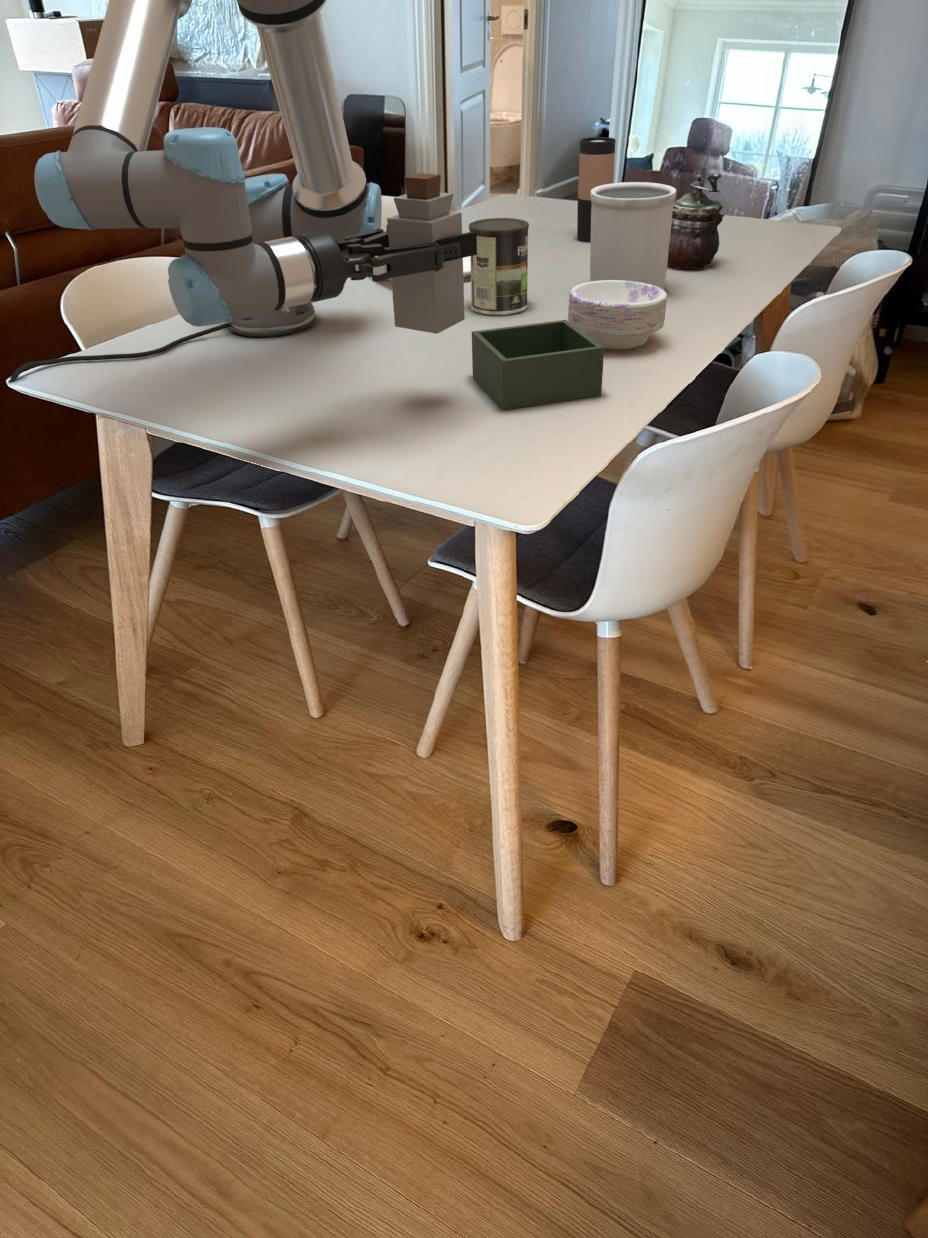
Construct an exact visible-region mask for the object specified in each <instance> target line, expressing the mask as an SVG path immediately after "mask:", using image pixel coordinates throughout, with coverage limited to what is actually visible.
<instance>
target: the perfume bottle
mask: <svg viewBox="0 0 928 1238" xmlns="http://www.w3.org/2000/svg"><path fill="white" fill-rule="evenodd" d="M441 176H442V175H441V174H439V173H437V174H436V173H425V172H418V173H414V174H410V175H407V176H405V177H404V186H405V193H404V194H401V195H399V196H395V197H393V201H394V205H395V208H396V211H397V214H395V215H392V216H390V217H387V218H386V223H387V224H386V225H388V238H389V247H396V246H406V245H415V244H425V243H431V242H435V241H436V240H439V239H441V238H444V237H448V236H453V235H458V234H463V220H462V219H463V218H462V211H453V210H451V208H452V207H451V206H452V201H453V198H454V193H452V192H441V181H442V180H441V179H442V177H441ZM391 279H392V281H391V291H392V292H391V293H392V305H393V306H392V307H393V319H394V320H393V321H394V327H396V328H402V329H408V330H411V331H412V330H413V331H418V332H424V333H430V334H436V335H438V334H440V333H442V332H443V331H445V330H448V329H450V328H452V327H454V326H455V325H457V324H459V323H460V322H463V321H464V320H465V319H466V318H465V288H464V287H465V285H464V282H465V281H464V277H463V258H460V259H455V260H451V261H446V262H443V268H442V269H439V271H437V272H436V271H435V270H432V271H426V272H421V273H415V274H410V275H404V276H399V277H393V278H391Z"/></svg>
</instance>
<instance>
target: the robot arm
mask: <svg viewBox="0 0 928 1238" xmlns="http://www.w3.org/2000/svg"><path fill="white" fill-rule="evenodd" d="M192 2H193V0H108V3H107V7H106V11H105V15H104V19H103V22H102V24H101V29H100V33H99V36H98V40H97V44H96V48H95V52H94V55H93V59H92V61H91V66H90V69H89V73H88V77H87V80H86V85H85V88H84V92H83V94H82V95H83V96H82V99H81V103H80V105H79V110H78V114H77V117H76V121H75V125H74V129H73V133H72V135H71V138H70V142H69V145H68V149H67V151H62V150H57V151H56V152H49V153H45V154H44V155H43V156H42V157H40V158H38V160H37V162H36V164H35V168H34V178H33V179H34V189H35V193H36V196H37V200H38V202H39V205H40V207H41V209H42V210H43V212H45V214H46V216H47V218H48V219H49V220H50V221H51V222H52V223H53V224H55V225H57V226H59V227H61V228H66V229H67V228H68V229H76V230H77V229H79V230H89V231H96V230H114V229H116V230H117V229H180V233H181V237H182V242H183V246H184V253H185V254H182V255H181V256H180V257H176V258H173V259H172V260H171V261H170V262H169V265H168V266H167V267H168V268H167V275H168V280H167V283H168V288H169V291H170V295H171V298H172V302H173V304H174V306H175V308H176V310H177V311H178V314H179V315H180V317H181V318H182V319H183V320H184V321H185V322H186V323H188V324H190V325H191V326H192V327H197V328H198V327H207V326H213V325H215V326H213V327H210V328H206V329H204V330H201V331H197V332H194V333H192V334H189V335H186V336H183V337H181V338H178V339H175V340H173V341H171V342H170V343H168V344H166V345H163V346H160V347H158V348H155V349H152V350H147V351H140V352H131V353H114V354H113V353H112V354H111V353H110V354H98V355H97V354H95V355H71V356H64V357H58V358H52V359H44V360H36V361H30V362H26V363H24V364H22V365H20V366H19V367H18V368H16V370H14V371H13V374H11V377H10V378H9V380H8V383H14V382H16V380H17V379H18V378H19V376H20V375H21V374H22V373H23V372H24V371H26V370H28V369H30V368H34V367H43V366H51V365H57V364H63V363H69V362H70V363H71V362H85V361H86V362H87V361H90V362H91V361H106V360H124V359H125V360H127V359H138V358H146V357H151V356H156V355H159V354H161V353H164V352H166V351H169V350H171V349H172V348H174V347H176V346H178V345H180V344H182V343H183V344H184V343H186V342H188V341H191V340H194V339H197V338H200V337H203V336H206V335H209V334H212V333H215V332H219V331H221V330H225V329H228V330H229V331H230V332H231V333H233V334H235V335H240V336H244V337H255V338H256V337H257V338H258V337H259V338H264V337H267V338H268V337H277V336H278V337H279V336H285V335H291V334H295V333H299V332H302V331H304V330H306V329H308V328H311V327H312V326H313V325H314V324H315V323H316V320H317V319H316V311H315V308H314V304H313V303H317V302H321V301H325V300H330V299H335V298H337V297H339V296H340V295H341V294H342V292H343V290H344V288H345V284H346V283H347V280H348V279H349V278H350V281H363V280H365V279H366V278H371V282H373V283H380V282H382V281H386V280H388V279H389V278H393V277H399V276H404V275H410V274H415V273H421V272H426V271H432V270H435V271H436V272H437V271H439V269H442V268H443V262H446V261H451V260H455V259H460V258H464V257H469V256H473V255H477V232H470V231H469V232H462V234H458V235H453V236H448V237H444V238H441V239H439V240H436V241H435V242H431V243H425V244H415V245H406V246H396V247H389V238H388V224H386V231H384V228H382V211H383V210H382V209H383V206H382V205H383V204H382V201H383V200H382V190H381V186H380V185H379V184H377V183H374V182H372V181H371V182H369V183H368V181H367V178H366V173H365V171H364V169H363V168H362V167H361V165H360V164H359V163H357V162H356V161H353V159H352V154H351V149H350V145H349V140H348V136H347V131H346V126H345V122H344V121H345V120H344V117H343V112H342V108H341V103H340V98H339V94H338V89H337V85H336V84H337V83H336V79H335V74H334V70H333V66H332V61H331V56H330V52H329V51H330V50H329V48H328V47H329V46H328V43H327V38H326V33H325V29H324V23H323V19H322V14H321V10H322V9H323V8H324V6H325V5H326V3H327V0H236V3H237V6H238V9H239V12H240V15H241V16H242V17H243V19H244V20H246V21H247V22H249V23H251V25H254V26H256V30H257V35H258V37H259V41H260V44H261V48H262V51H263V55H264V58H265V63H266V66H267V70H268V73H269V76H270V80H271V84H272V87H273V90H274V94H275V98H276V101H277V105H278V108H279V112H280V116H281V118H282V119H281V120H282V122H283V126H284V130H285V133H286V136H287V140H288V144H289V147H290V152H291V155H292V158H293V162H294V164H295V165H294V166H295V169H296V173H297V174H296V175H295V177H294V179H293V181H292V184H289V183H290V182H289V179H288V176H287V175H286V174H285V173H269V174H263V175H261V174H260V175H258V176H257V175H256V176H251V177H247V178H246V175H245V172H244V170H243V165H242V161H241V156H240V151H239V146H238V142H237V139H236V137H235V135H234V134H233V133H232V132H231V131H230V130H228V129H226V128H223V127H213V126H212V127H211V126H205V127H203V126H202V127H189V128H180V129H174V130H171V131H168V132H167V133H165V135H164V137H163V149H161V150H159V149H158V150H147V149H148V145H149V141H150V137H151V133H152V129H153V124H154V120H155V116H156V112H157V108H158V103H159V100H160V95H161V93H162V92H161V91H162V87H163V83H164V79H165V75H166V71H167V67H168V63H169V59H170V55H171V50H172V47H173V42H174V38H175V34H176V31H177V25H178V22H179V20H180V19H182V18H183V17H184V16H185V15H187V13H189V11H190V9H191V6H192ZM10 379H11V380H10Z"/></svg>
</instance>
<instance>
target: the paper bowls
mask: <svg viewBox="0 0 928 1238" xmlns="http://www.w3.org/2000/svg"><path fill="white" fill-rule="evenodd" d="M667 299H668V294H667V292H666V291H665V289H664V290H663V289H661V288H659V287H657V286H654V285H651V284H647V283H642V282H635V281H625V280H600V281H591V282H590V281H586V282H582V283H579V284H576V285H575V286H573V287H571V288H570V290H569V293H568V308H567V310H568V311H567V313H568V314H567V321H568V322H570V323H571V324H572V325H574V326H575V327H576V328H578V329H579V330H581V331H582V332H583V333H585V334H586V335H587V336H589V337H590V338H592V339H593V340H594V341H596V342H597V343H599V344H600V345H601V346H603V347H604V350H616V351H617V350H620V351H621V350H629V349H635V348H637V347H640V346H642V345H644V344H645V343H646V342H647V341H648V339H650V336H651V334H653V333H655V332H658V331H660V330H661V329H663V328H664V326H665V320H666V309H667V303H668V300H667Z"/></svg>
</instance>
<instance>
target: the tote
mask: <svg viewBox="0 0 928 1238" xmlns="http://www.w3.org/2000/svg"><path fill="white" fill-rule="evenodd" d="M604 357H605V349H604V347H603V346H601V345H600V344H599V343H597V342H596V341H594V340H593V339H592V338H590V337H589V336H587V335H586V334H585V333H583V332H582V331H581V330H579V329H578V328H576V327H575V326H574V325H572V324H571V323H570V322H569V321H568V319H561V320H560V319H559V320H551V321H544V322H537V323H528V324H521V325H514V326H505V327H497V328H488V329H481V330H474V331H471V359H472V362H471V363H472V364H471V365H472V366H471V367H472V378H473V379H474V380H475V381H476V382H477V383H478V385H479V386H480V387H481V388H482V389H483V390H484V391H485V392H486V394H488V395H489V397H490V398H491V399H492V400H493V401H494V402H495V403H496V404H497V405H498V407H500V409H501V410H502V411H505V410H506V411H507V410H513V409H519V408H526V407H532V406H540V405H545V404H553V403H558V402H565V401H566V402H567V401H573V400H579V399H587V398H594V397H598V396H599V397H600V396H602V390H603V373H604Z"/></svg>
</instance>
